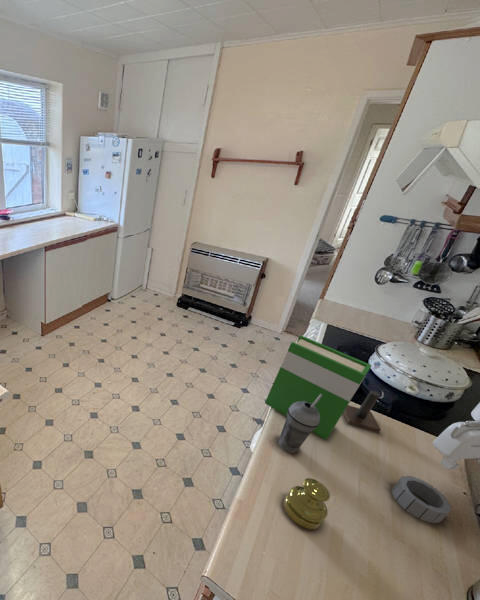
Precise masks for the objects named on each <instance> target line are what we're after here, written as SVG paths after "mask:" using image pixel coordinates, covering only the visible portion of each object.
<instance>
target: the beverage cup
mask: <svg viewBox="0 0 480 600" xmlns="http://www.w3.org/2000/svg"><path fill="white" fill-rule="evenodd" d="M321 397H322V394H320V395H319V396H318V398H317V399H316V400H315V401H314V403H313V404H311V403H308V402H305V401H299V402H296V403H293V404H292V405H291V406H290V407H289V408H288V412H287V416H286V418H285V421H284V424H283V427H282V430H281V433H280V434H279V435H280V436H279V438H278V439H279V440H278V445H279V446H280V448H282V449H283V450H284V451H285V452H287V453H291V454H294V453H297V451H298V450H299V449H300V448H301V447H302V445H303V443H304V442H306V440H307V438H308V437H309V436H310V434H312V431H313V430H314V429H315V428H316V427H317V426H318V425H319V421H320V414H319V411H318V410H317V408H316V407H315V406H314V405H315V404H316V403H317V402H318V400H319V399H320V398H321Z"/></svg>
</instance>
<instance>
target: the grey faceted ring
mask: <svg viewBox="0 0 480 600" xmlns="http://www.w3.org/2000/svg"><path fill="white" fill-rule="evenodd" d="M391 494H392V496H393V498H394V500H395V501H396V503H398V504H399V505H400V507H402V509H404V510H406V512H407V513H409V514H411V515H412V516H414V517H415V518H417V519H419V520H421V521H424V522H426V523H430V524H439V523H441V522H442V521H443V520H444V519H445V518H446V517H447V516H448V515H449V514H450V513H451V509H452V505H451V503H450V502H449V499H448V498H447V497H446V496H445V495H444V494H443V493H442V492H441V491H439V490H438V489H437V488H436V487H434V486H433V485H432V484H430V483H428V482H427V481H425V480H423V479H421V478H419V477H415V476H412V475H404V476H401V477H400V478H399V479H398V481H397V482H396V483H395V484H394V485H393V486H392V489H391ZM415 495H416V496H415ZM417 496H418V497H419V498H421V499H422V500H423V501H422V500H421V499H419V498H418V497H417ZM424 501H425V502H424Z"/></svg>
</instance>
